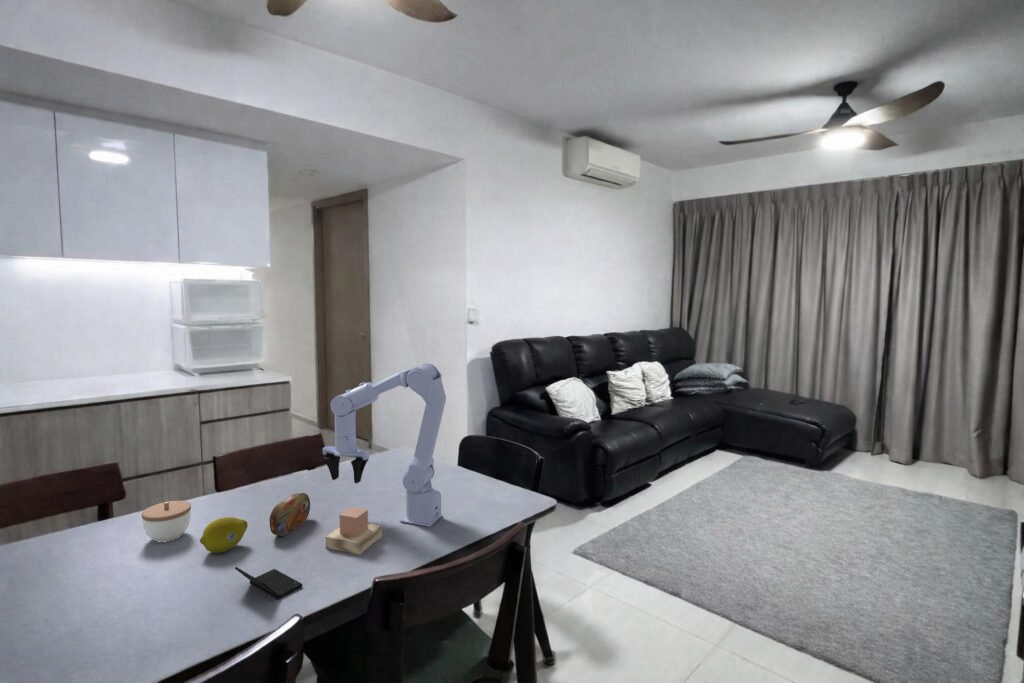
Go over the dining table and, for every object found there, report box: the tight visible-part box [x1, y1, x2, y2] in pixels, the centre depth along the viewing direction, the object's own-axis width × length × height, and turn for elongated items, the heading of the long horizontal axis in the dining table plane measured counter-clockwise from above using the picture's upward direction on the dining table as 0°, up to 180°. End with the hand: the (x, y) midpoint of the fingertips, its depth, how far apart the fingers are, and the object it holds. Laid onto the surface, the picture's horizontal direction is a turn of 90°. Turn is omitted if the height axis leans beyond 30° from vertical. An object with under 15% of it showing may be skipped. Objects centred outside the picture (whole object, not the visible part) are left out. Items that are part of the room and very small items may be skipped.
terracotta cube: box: [339, 506, 369, 537], centre depth 136 cm, size 5×5×5 cm
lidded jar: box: [141, 500, 192, 542], centre depth 137 cm, size 11×11×9 cm
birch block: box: [325, 522, 383, 556], centre depth 136 cm, size 10×10×3 cm
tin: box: [269, 492, 311, 537], centre depth 143 cm, size 15×3×8 cm, turn 168°
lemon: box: [199, 516, 249, 554], centre depth 131 cm, size 11×8×8 cm
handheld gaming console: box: [234, 566, 303, 601], centre depth 115 cm, size 12×7×10 cm
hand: (346, 480), depth 154 cm, fingers open, 7 cm apart
